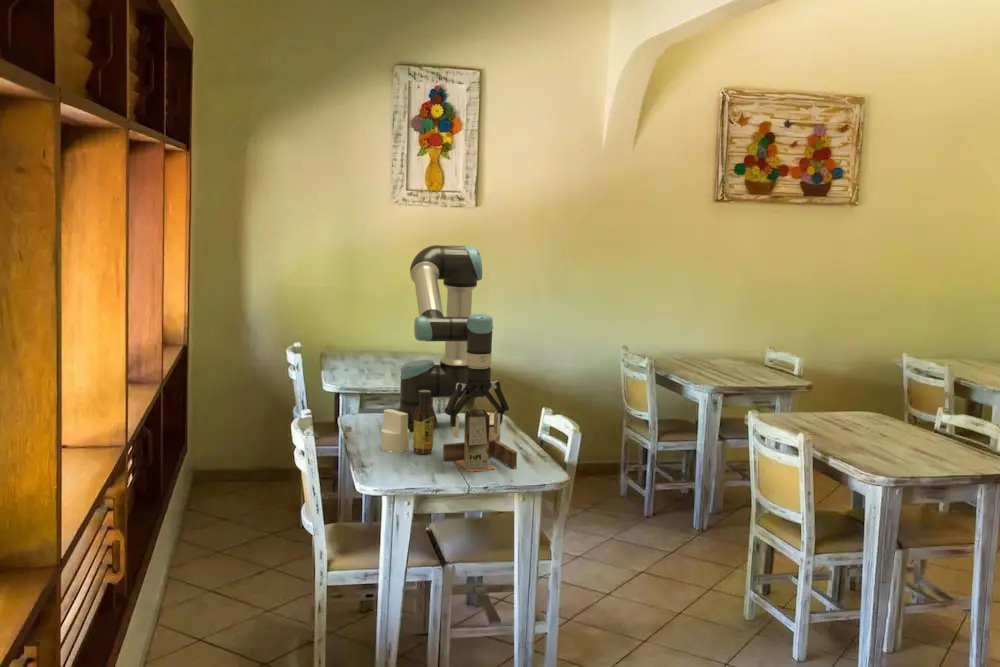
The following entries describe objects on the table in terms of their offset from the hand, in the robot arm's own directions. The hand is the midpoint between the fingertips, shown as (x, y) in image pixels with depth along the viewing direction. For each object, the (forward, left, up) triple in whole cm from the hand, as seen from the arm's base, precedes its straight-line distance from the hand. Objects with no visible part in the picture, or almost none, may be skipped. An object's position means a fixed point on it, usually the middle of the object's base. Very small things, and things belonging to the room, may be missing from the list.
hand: (476, 435), depth 269 cm
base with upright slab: (-26, -17, -10) cm, 32 cm away
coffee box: (0, 0, -9) cm, 9 cm away
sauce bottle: (-19, -10, -10) cm, 23 cm away
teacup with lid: (-19, +12, -10) cm, 24 cm away
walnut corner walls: (-1, +2, -10) cm, 10 cm away
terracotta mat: (0, 0, -10) cm, 10 cm away
